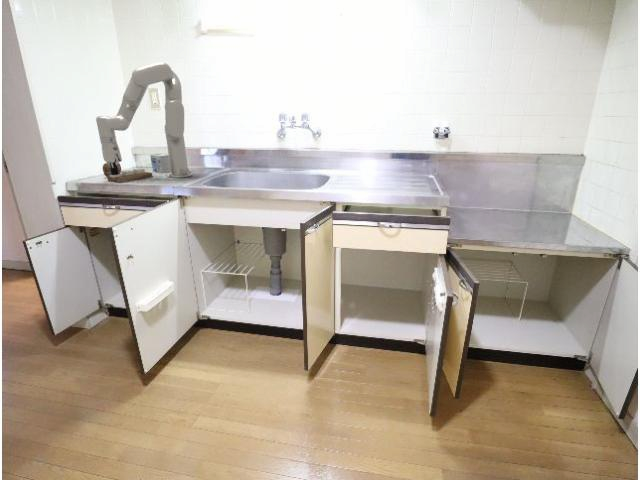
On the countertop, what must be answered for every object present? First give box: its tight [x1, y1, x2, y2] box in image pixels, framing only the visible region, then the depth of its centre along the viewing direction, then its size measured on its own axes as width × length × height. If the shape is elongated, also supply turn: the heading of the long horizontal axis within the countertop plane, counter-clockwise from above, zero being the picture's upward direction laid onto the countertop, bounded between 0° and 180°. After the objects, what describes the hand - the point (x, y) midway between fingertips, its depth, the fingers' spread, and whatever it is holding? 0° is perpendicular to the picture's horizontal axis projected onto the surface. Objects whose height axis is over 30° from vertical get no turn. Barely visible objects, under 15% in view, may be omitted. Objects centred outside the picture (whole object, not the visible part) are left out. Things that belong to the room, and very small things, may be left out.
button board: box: [106, 171, 153, 184], centre depth 204 cm, size 11×20×3 cm, turn 149°
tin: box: [102, 162, 122, 178], centre depth 213 cm, size 15×3×8 cm, turn 179°
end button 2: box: [132, 167, 146, 173], centre depth 210 cm, size 4×4×3 cm
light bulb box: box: [150, 153, 171, 174], centre depth 225 cm, size 11×7×11 cm, turn 56°
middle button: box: [121, 169, 134, 175], centre depth 205 cm, size 4×4×3 cm
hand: (115, 174), depth 199 cm, fingers closed
